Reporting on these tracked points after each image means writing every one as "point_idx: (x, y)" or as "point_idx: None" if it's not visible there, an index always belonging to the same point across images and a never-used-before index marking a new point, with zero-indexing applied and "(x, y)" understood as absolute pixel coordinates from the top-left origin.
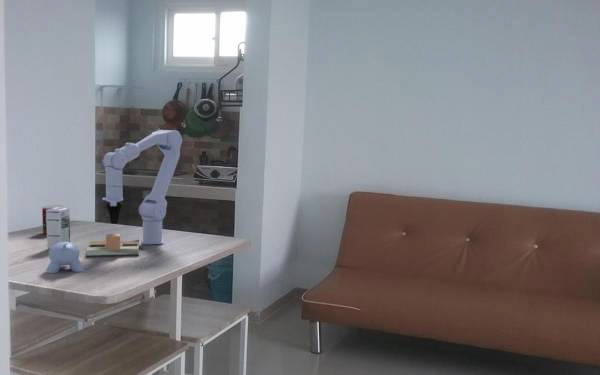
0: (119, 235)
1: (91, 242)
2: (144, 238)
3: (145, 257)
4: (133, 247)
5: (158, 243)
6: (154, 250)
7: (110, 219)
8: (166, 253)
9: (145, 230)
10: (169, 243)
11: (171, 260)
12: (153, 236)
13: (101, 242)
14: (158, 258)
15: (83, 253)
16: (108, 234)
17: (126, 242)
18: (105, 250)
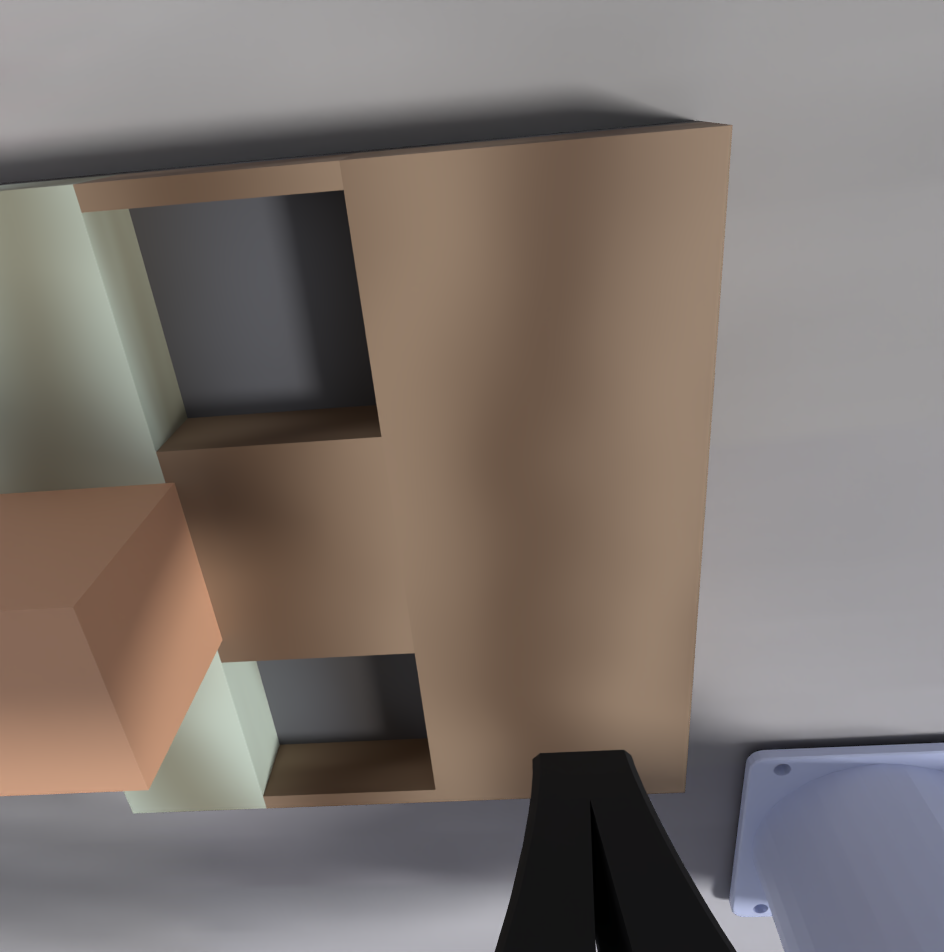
0: (2, 791)
1: (553, 173)
2: (831, 822)
3: (101, 797)
4: (189, 768)
5: (733, 880)
6: (435, 847)
7: (530, 835)
8: (300, 921)
9: (863, 938)
10: (771, 937)
11: (28, 948)
12: (779, 924)
13: (535, 358)
14: (82, 879)
15: (216, 76)
16: (49, 637)
17: (510, 684)
18: (2, 478)
